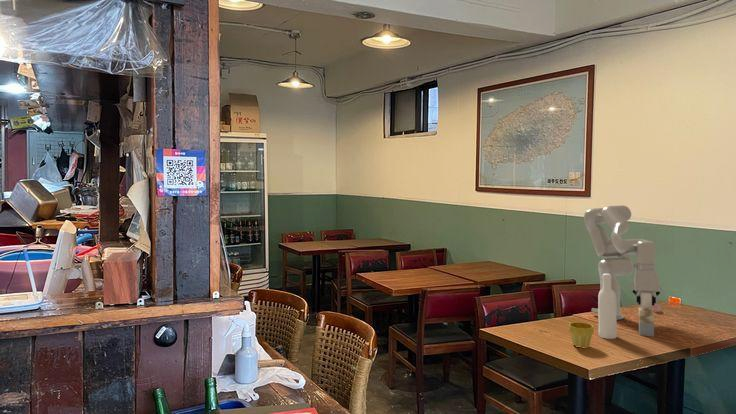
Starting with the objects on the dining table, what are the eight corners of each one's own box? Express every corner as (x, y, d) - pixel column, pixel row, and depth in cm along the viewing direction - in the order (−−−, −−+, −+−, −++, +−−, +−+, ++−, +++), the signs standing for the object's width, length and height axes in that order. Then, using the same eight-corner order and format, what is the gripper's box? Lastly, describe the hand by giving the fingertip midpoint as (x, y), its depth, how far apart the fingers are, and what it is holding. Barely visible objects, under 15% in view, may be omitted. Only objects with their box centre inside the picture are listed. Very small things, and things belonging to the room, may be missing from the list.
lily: (650, 316, 274) (660, 302, 271) (632, 304, 283) (642, 290, 281) (661, 319, 280) (671, 305, 278) (643, 307, 290) (653, 293, 287)
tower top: (639, 322, 241) (639, 310, 240) (638, 319, 246) (638, 307, 246) (654, 323, 238) (654, 311, 238) (652, 320, 244) (652, 308, 243)
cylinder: (640, 307, 240) (640, 292, 240) (639, 304, 245) (639, 290, 245) (652, 307, 238) (652, 293, 238) (651, 305, 243) (651, 290, 243)
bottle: (609, 340, 235) (608, 276, 233) (594, 336, 242) (593, 273, 240) (620, 337, 239) (619, 274, 237) (605, 333, 246) (605, 271, 244)
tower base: (639, 335, 241) (639, 322, 241) (638, 331, 246) (638, 319, 246) (654, 336, 239) (654, 323, 238) (652, 332, 244) (652, 320, 244)
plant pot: (599, 348, 225) (598, 326, 225) (579, 351, 222) (579, 329, 222) (583, 341, 235) (582, 320, 234) (564, 344, 232) (563, 323, 232)
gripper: (626, 267, 241) (626, 305, 242) (667, 268, 234) (667, 307, 235) (625, 264, 248) (625, 301, 249) (665, 266, 241) (665, 303, 242)
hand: (646, 304), depth 242 cm, fingers closed on cylinder, 5 cm apart
